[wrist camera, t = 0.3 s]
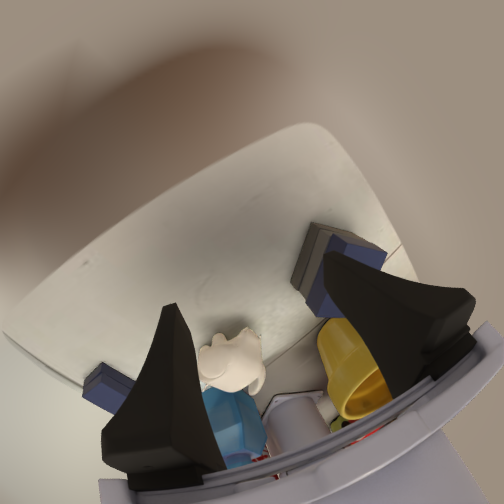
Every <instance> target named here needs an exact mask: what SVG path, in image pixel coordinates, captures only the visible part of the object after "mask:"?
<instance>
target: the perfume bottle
mask: <svg viewBox="0 0 504 504" xmlns="http://www.w3.org/2000/svg"><path fill="white" fill-rule="evenodd" d="M202 397H203V401H204V404H205V408H206V411H207V415H208V418H209V421H210V424H211V427H212V430H213V433H214V436H215V439H216V441H217V444H218V447H219V449H220V452H221V454H222V457H223V459H224V462H225V464H226V467H227V469H232V468H236V467H240V466H244V465H247V464H251V463H254V462H252V459H255V458H257V457H260V456H261V455H262V452H263V449H264V447H265V444H266V441H267V438H268V437H267V434H266V432H265V429H264V426H263V424H262V421H261V418H260V416H259V413H258V410H257V407H256V405H255V402H254V399H252V398H251V397H250V396H249V395H247V394H246V393H245V392H244V391H243V390H239V391H236V392H226V391H223V390H220V389H218V388H215V387H212V388H210V389H208V390H206V391H204V392H202Z"/></svg>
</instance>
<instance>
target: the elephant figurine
mask: <svg viewBox="0 0 504 504" xmlns="http://www.w3.org/2000/svg"><path fill="white" fill-rule="evenodd" d="M248 327H249V326H248ZM248 327H246V328H244V329H243V330H241V332H240V333H239V335H238V336H236V337H235V338H233V339H231V340H229V341H227V340H226V337H225V335H224V334H222V333H217V334H215V335H214V337H213V339H212V346H211V347H210V346H208V345H205V346H203V347H202V348H201V349H200V352H199V357H198V366H197V367H198V374H199V379H200V380H201V381H202V382H204V383H206V386H205V388H206V387H207V386H208V385H210V386H213V387H215V388H218V389H220V390H223V391H226V392H236V391H239V390H241V389H243V388H245V387H246V386H248V385H249V395H255V394H256V393H258V392H259V391H260V389H261V387H262V385H263V383H264V381H265V376H266V370H265V367H264V365H263V361H262V354H261V341H260V339H261V335H260V338H258V336H257V335H256V334H255V333H254V332H253V331H252V330H251V329H248ZM205 388H204V389H203V390H202V392H204V390H205Z"/></svg>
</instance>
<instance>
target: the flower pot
mask: <svg viewBox="0 0 504 504" xmlns="http://www.w3.org/2000/svg"><path fill="white" fill-rule="evenodd" d="M317 347H318V350H319V353H320V356H321V359H322V362H323V365H324V368H325V371H326V374H327V377H328V380H329V382H328V386H327V391H328V394H329V396H330V398H331V400H332V402H333V404H334V406H335V407H336V409H337V411H338V412H339V414H340V415H341V416H342V417H343V418H345V419H348V420H356V419H360V418H363V417H365V416H367V415H369V414H370V413H372V412H374V411H376V410H377V409H379V408H381V407H382V406H384V405H386V404H387V403H389V402H391V401H392V400H393V398H392V396H391V393H390V391H389V389H388V387H387V384H386V382H385V380H384V378H383V376H382V374H381V372H380V370H379V368H378V366H377V364H376V362H375V360H374V358H373V357H372V355H371V353H370V351H369V350H368V348H367V346H366V345H365V343H364V341H363V340H362V338H361V337H360V335H359V334H358V333H357V331H356V330H355V329H354V327H353V326H352V325H351V324H350V322H349V321H348V320H347V319H346V318H331V319H329V320H328V321H327V322H326V323H325V325H324V326H323V327H322V329H321V330H320V332H319V334H318V338H317Z"/></svg>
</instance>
